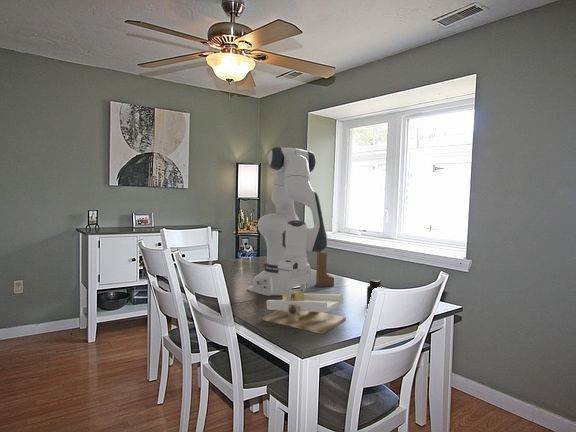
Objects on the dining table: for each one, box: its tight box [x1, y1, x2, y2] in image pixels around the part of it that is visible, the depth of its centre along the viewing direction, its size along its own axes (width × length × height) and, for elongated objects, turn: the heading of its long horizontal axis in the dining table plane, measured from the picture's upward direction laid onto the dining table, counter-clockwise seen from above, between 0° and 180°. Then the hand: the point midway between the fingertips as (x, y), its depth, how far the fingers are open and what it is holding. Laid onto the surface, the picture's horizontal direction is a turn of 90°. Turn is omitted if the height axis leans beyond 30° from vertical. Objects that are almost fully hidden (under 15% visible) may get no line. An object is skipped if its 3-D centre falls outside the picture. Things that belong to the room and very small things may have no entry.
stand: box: [261, 304, 347, 335], centre depth 155 cm, size 26×20×8 cm
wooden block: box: [315, 250, 335, 287], centre depth 214 cm, size 9×4×18 cm, turn 97°
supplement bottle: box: [366, 278, 383, 308], centre depth 175 cm, size 7×7×12 cm
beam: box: [266, 293, 344, 313], centre depth 155 cm, size 26×14×4 cm, turn 58°
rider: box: [281, 290, 304, 301], centre depth 158 cm, size 6×6×4 cm
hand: (295, 296), depth 157 cm, fingers open, 8 cm apart
